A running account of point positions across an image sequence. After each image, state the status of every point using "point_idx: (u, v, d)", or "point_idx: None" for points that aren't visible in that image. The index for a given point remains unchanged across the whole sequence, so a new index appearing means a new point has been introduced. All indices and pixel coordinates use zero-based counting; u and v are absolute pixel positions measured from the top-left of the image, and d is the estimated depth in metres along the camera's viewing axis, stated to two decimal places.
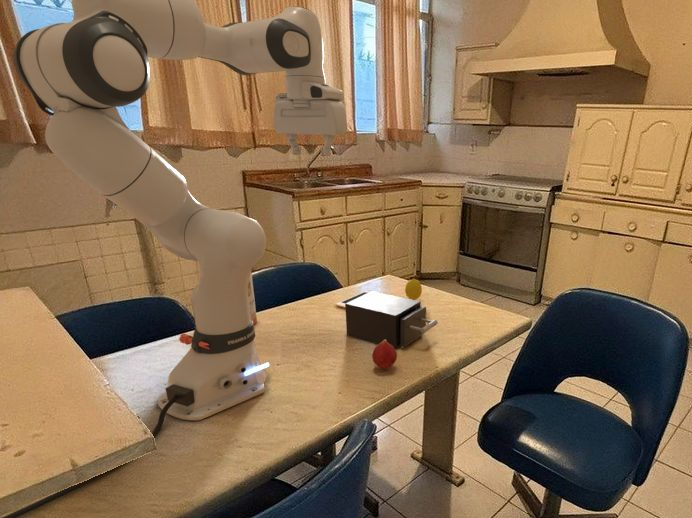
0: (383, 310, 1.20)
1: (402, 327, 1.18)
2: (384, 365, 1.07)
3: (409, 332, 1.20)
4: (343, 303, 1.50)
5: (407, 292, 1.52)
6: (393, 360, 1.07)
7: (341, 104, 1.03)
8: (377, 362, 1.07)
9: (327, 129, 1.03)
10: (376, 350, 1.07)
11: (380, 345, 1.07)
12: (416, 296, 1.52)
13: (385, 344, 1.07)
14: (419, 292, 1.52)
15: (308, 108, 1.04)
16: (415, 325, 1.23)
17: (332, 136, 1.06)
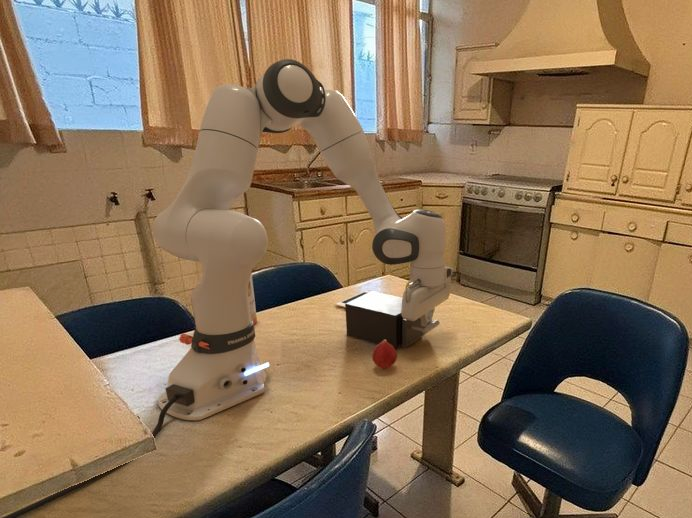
0: (383, 310, 1.20)
1: (404, 327, 1.17)
2: (384, 365, 1.07)
3: (411, 332, 1.20)
4: (343, 303, 1.50)
5: None
6: (393, 360, 1.07)
7: None
8: (377, 362, 1.07)
9: (445, 297, 1.24)
10: (376, 350, 1.07)
11: (380, 345, 1.07)
12: None
13: (385, 344, 1.07)
14: None
15: None
16: (417, 325, 1.22)
17: None
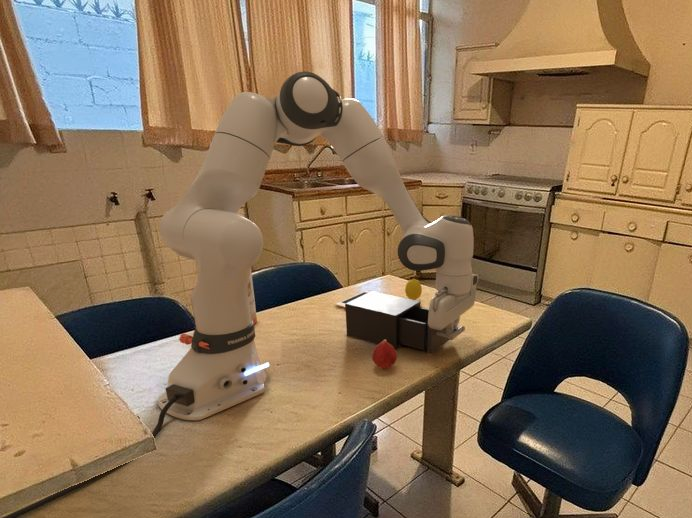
0: (383, 310, 1.20)
1: (429, 334, 1.14)
2: (384, 365, 1.07)
3: (436, 339, 1.17)
4: (343, 303, 1.50)
5: (407, 292, 1.52)
6: (393, 360, 1.07)
7: None
8: (377, 362, 1.07)
9: (470, 305, 1.21)
10: (376, 350, 1.07)
11: (380, 345, 1.07)
12: (416, 296, 1.52)
13: (385, 344, 1.07)
14: (419, 292, 1.52)
15: None
16: (442, 331, 1.19)
17: None
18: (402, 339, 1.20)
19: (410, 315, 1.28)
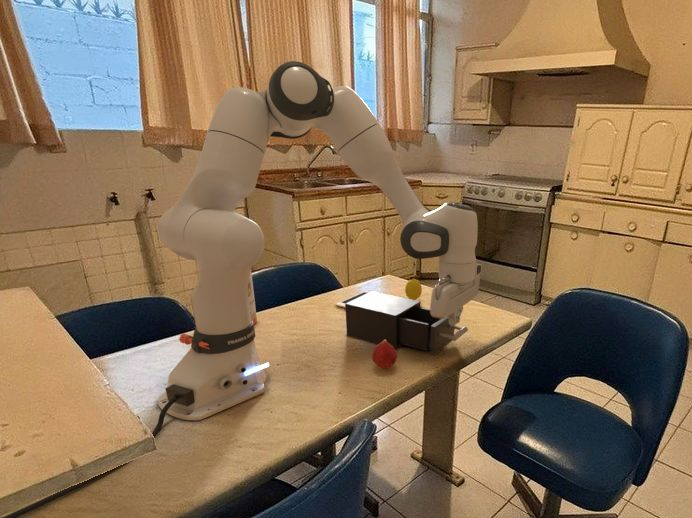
0: (383, 310, 1.20)
1: (432, 335, 1.14)
2: (384, 365, 1.07)
3: (439, 339, 1.16)
4: (343, 303, 1.50)
5: (407, 292, 1.52)
6: (393, 360, 1.07)
7: None
8: (377, 362, 1.07)
9: (474, 295, 1.18)
10: (376, 350, 1.07)
11: (380, 345, 1.07)
12: (416, 296, 1.52)
13: (385, 344, 1.07)
14: (419, 292, 1.52)
15: None
16: (444, 332, 1.18)
17: None
18: (405, 340, 1.20)
19: (413, 315, 1.27)
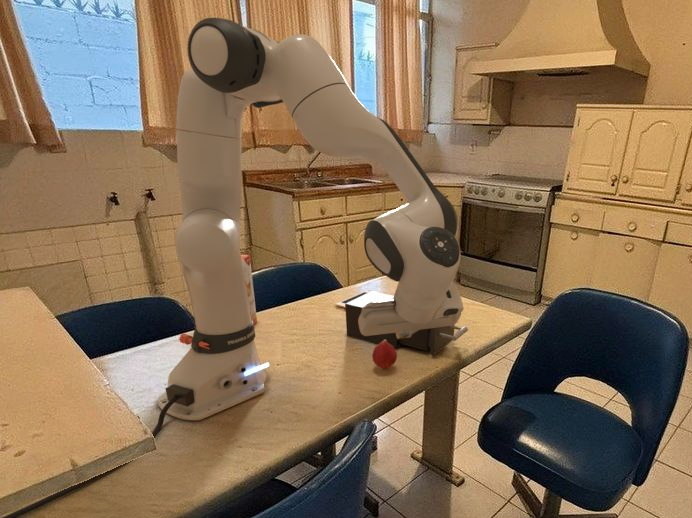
0: None
1: (432, 335, 1.14)
2: (384, 365, 1.07)
3: (439, 339, 1.16)
4: (343, 303, 1.50)
5: None
6: (393, 360, 1.07)
7: None
8: (377, 362, 1.07)
9: (444, 325, 0.93)
10: (376, 350, 1.07)
11: (380, 345, 1.07)
12: None
13: (385, 344, 1.07)
14: None
15: None
16: (444, 332, 1.18)
17: None
18: (405, 340, 1.20)
19: None
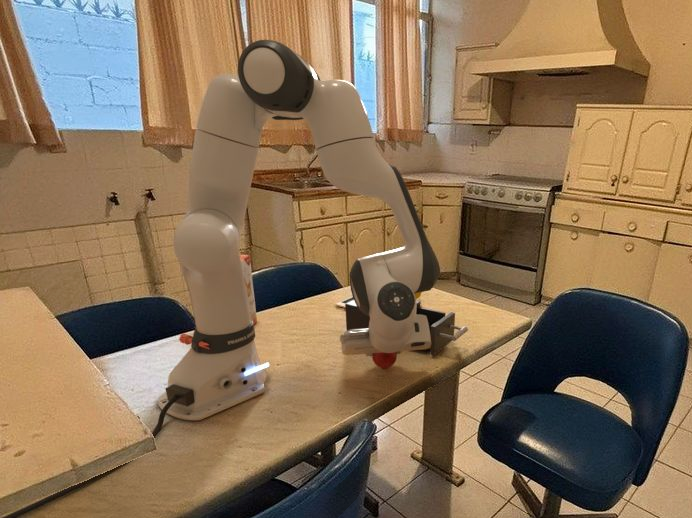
0: None
1: (432, 335, 1.14)
2: (384, 365, 1.07)
3: (439, 339, 1.16)
4: (343, 303, 1.50)
5: None
6: (393, 360, 1.07)
7: None
8: (377, 362, 1.07)
9: (418, 348, 1.04)
10: None
11: None
12: (416, 296, 1.52)
13: None
14: (419, 292, 1.52)
15: None
16: (444, 332, 1.18)
17: None
18: None
19: None
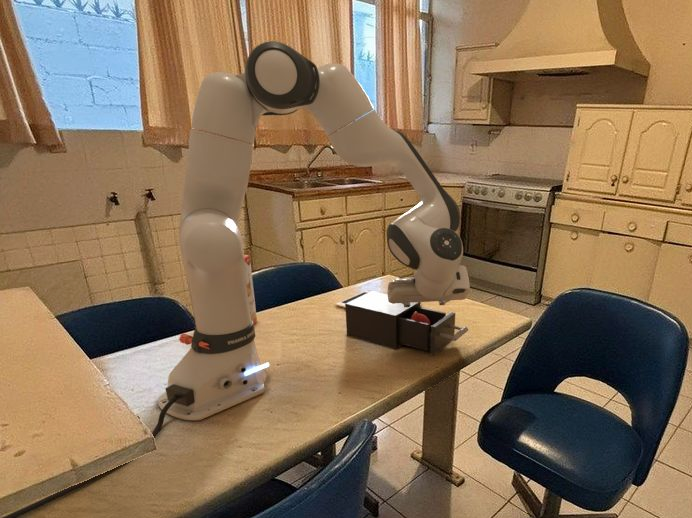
0: (383, 310, 1.20)
1: (432, 335, 1.14)
2: None
3: (439, 339, 1.16)
4: (343, 303, 1.50)
5: None
6: None
7: None
8: None
9: (456, 299, 1.15)
10: None
11: (412, 317, 1.19)
12: None
13: (416, 315, 1.18)
14: None
15: None
16: (445, 332, 1.18)
17: None
18: (405, 340, 1.19)
19: None
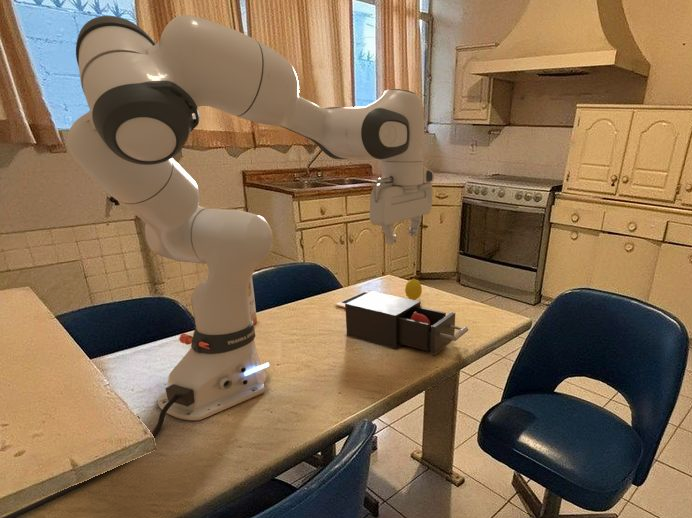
0: (383, 310, 1.20)
1: (432, 335, 1.14)
2: None
3: (439, 339, 1.16)
4: (343, 303, 1.50)
5: (407, 292, 1.52)
6: None
7: None
8: None
9: (426, 209, 1.04)
10: None
11: (412, 318, 1.19)
12: (416, 296, 1.52)
13: (416, 315, 1.18)
14: (419, 292, 1.52)
15: None
16: (445, 332, 1.18)
17: None
18: (405, 340, 1.19)
19: None
